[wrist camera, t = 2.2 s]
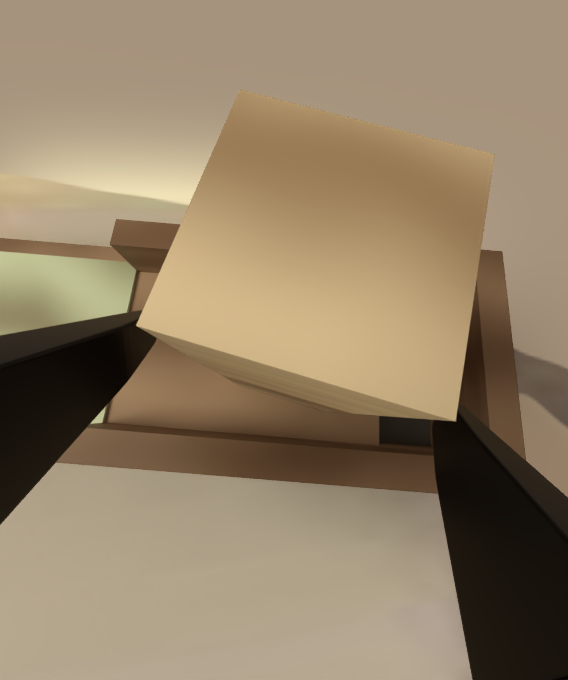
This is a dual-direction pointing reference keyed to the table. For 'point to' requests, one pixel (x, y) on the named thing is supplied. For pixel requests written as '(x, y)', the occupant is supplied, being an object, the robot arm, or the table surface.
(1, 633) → the table surface
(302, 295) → the birch block
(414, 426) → the walnut channel
